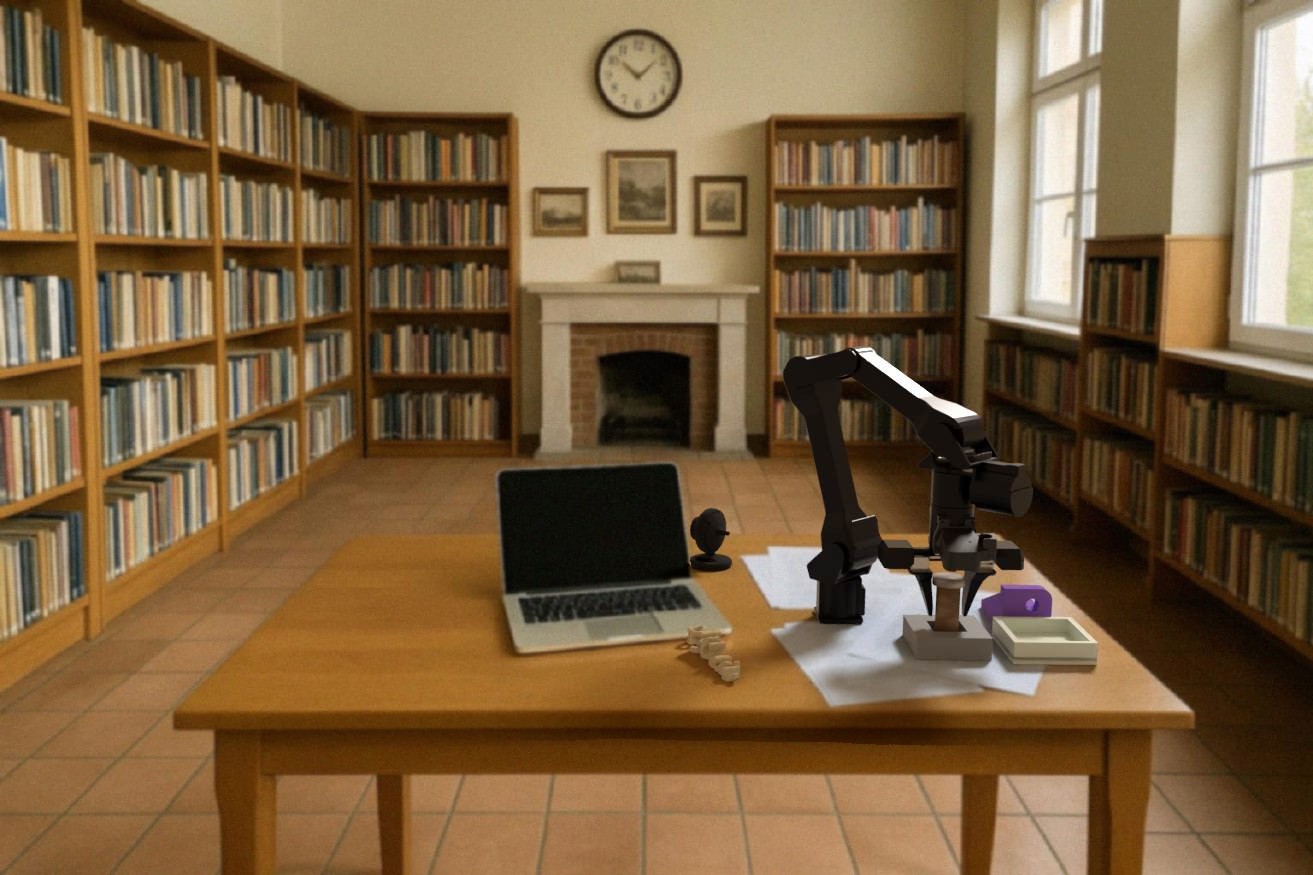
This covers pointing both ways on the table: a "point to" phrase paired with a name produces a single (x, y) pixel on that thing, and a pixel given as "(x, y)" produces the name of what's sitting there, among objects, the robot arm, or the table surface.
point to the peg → (947, 601)
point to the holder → (947, 639)
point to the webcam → (709, 540)
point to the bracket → (1018, 602)
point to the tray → (1044, 640)
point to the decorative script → (713, 652)
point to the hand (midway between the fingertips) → (947, 615)
